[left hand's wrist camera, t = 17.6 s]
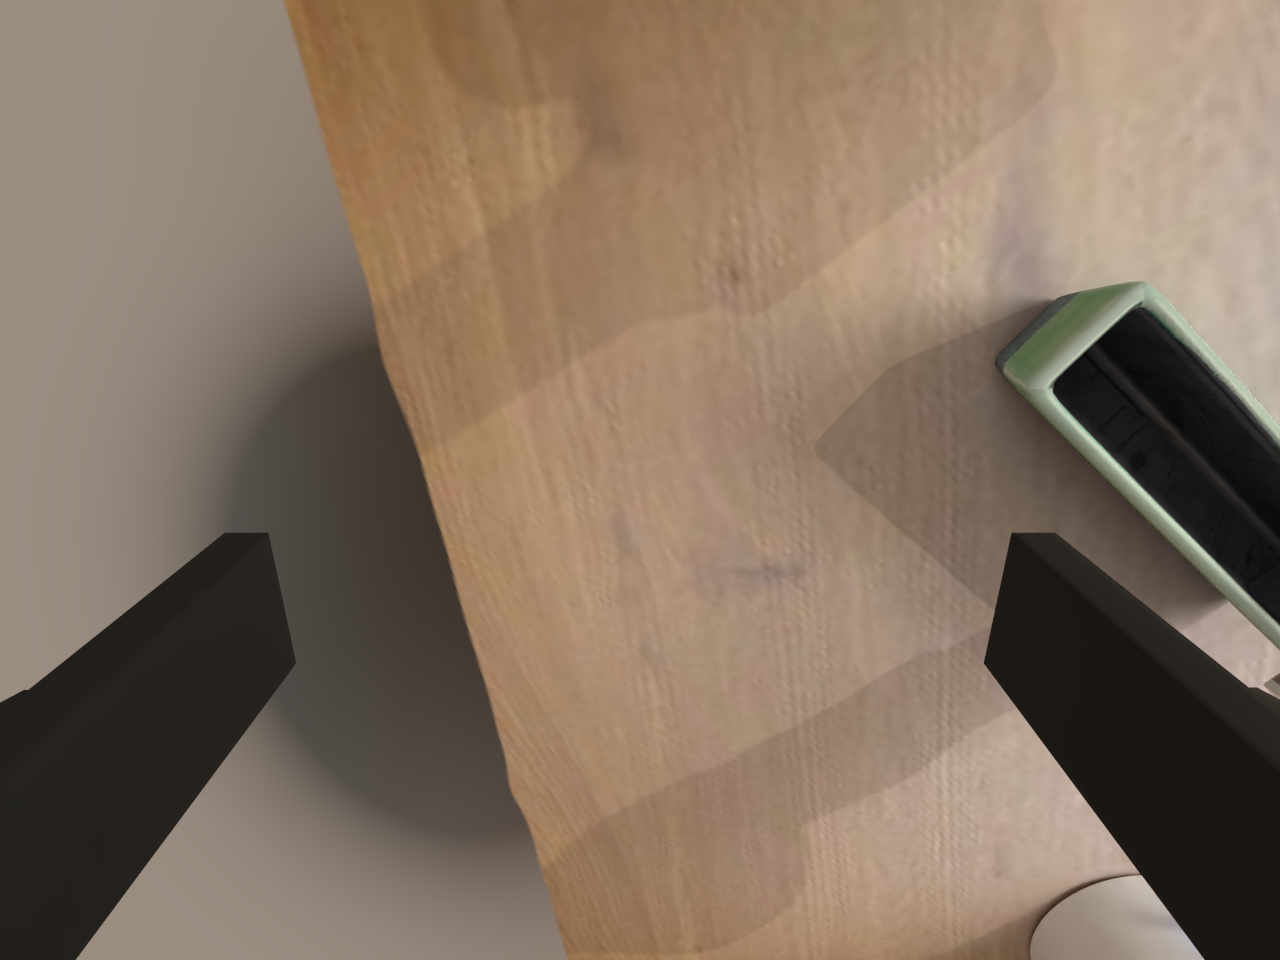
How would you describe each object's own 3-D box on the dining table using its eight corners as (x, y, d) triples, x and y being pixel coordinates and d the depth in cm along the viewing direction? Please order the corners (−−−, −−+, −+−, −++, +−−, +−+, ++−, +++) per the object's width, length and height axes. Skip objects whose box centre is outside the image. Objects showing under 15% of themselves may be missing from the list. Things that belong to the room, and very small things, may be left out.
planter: (960, 360, 41) (1023, 391, 34) (1061, 261, 39) (1148, 274, 32) (1228, 622, 48) (1325, 692, 41) (1327, 549, 46) (1445, 610, 39)
